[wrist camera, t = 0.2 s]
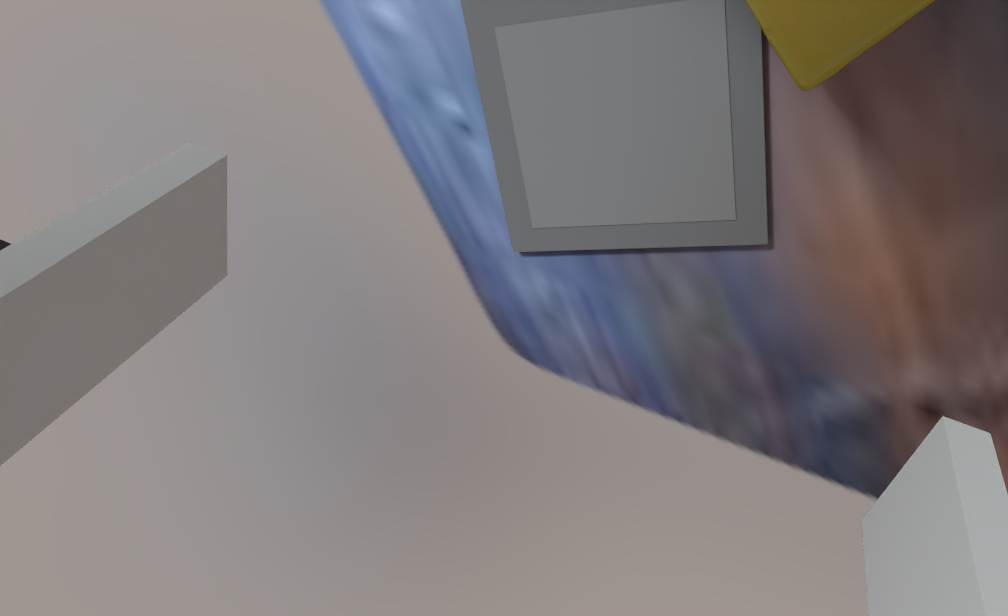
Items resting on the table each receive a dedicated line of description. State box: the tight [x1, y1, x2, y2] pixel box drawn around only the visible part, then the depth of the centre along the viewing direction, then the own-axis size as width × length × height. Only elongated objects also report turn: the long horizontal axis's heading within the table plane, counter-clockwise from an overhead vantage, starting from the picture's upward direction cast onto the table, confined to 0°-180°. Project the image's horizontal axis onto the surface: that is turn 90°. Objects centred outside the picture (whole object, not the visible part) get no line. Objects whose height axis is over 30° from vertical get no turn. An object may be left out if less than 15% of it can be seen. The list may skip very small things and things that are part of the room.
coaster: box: [461, 0, 768, 252], centre depth 40 cm, size 14×14×1 cm
